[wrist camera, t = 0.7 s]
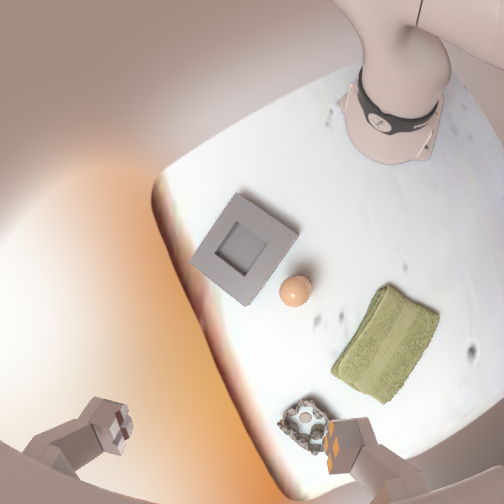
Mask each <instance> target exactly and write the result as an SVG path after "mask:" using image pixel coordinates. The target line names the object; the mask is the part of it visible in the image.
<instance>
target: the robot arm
mask: <svg viewBox="0 0 504 504" xmlns="http://www.w3.org/2000/svg"><path fill="white" fill-rule="evenodd" d="M330 1H331V2H332V3H334V4H335V5H336V6H337V7H338V8H339V9H340V10H341V11H342V12H343V14H344V15H345V16H346V17H347V19H348V20H349V21H350V23H351V24H352V26H353V27H354V29H355V30H356V32H357V34H358V36H359V38H360V40H361V43H362V47H363V66H362V68H361V70H360V73H359V75H358V76H357V78H356V82H355V83H354V84H351V85H350V87H349V91H348V93H347V94H345V95H344V96H343V97H342V98H341V99H340V102H339V105H340V108H341V110H342V112H343V113H344V115H345V118H346V128H347V132H348V135H349V137H350V139H351V141H352V143H353V144H354V146H355V147H356V148H357V149H358V150H359V151H360V152H361V153H362V154H364V155H365V156H366V157H368V158H370V159H372V160H374V161H376V162H379V163H383V164H401V163H404V162H407V161H409V160H427V159H429V158H430V156H431V153H432V149H433V145H434V141H435V137H436V133H437V129H438V125H439V120H440V116H441V111H442V106H443V101H444V98H443V96H442V93H443V91H444V89H445V87H446V86H447V84H448V82H449V80H450V76H451V65H450V60H449V57H448V54H447V51H446V49H445V47H444V45H443V43H442V42H441V41H440V40H439V38H438V37H440V38H442V39H444V40H446V41H447V42H449V43H451V44H453V45H455V46H457V47H459V48H460V49H462V50H464V51H466V52H467V53H469V54H471V55H473V56H474V57H476V58H477V59H479V60H482V61H484V62H486V63H489V64H491V65H493V66H495V67H497V68H499V69H501V70H504V0H330ZM437 36H438V37H437ZM425 146H427V148H428V149H426V148H425ZM128 412H129V409H128V406H127V405H125V404H122V403H118V402H114V401H110V400H106V399H102V398H99V397H93V398H92V399H91V400H90V402H89V403H88V405H87V406H86V408H85V409H84V411H83V412H82V413H81V415H80V416H79V418H78V419H73V420H71V421H68V422H66V423H64V424H62V425H59V426H57V427H55V428H52V429H50V430H47V431H45V432H43V433H40V434H38V435H36V436H34V437H33V438H32V440H31V441H30V442H29V444H28V445H27V447H26V448H25V449H24V451H23V452H22V453H21V452H19V451H17V450H16V449H14V448H11V447H10V446H9V445H7V444H5V443H4V442H2V441H0V504H157V503H153V502H149V501H145V500H141V499H136V498H133V497H129V496H125V495H122V494H119V493H116V492H112V491H109V490H106V489H103V488H100V487H97V486H94V485H92V484H89V483H86V482H84V481H81V480H80V479H79V477H78V476H77V474H76V473H75V471H76V470H78V469H79V468H81V467H82V466H84V465H86V464H87V463H89V462H90V461H92V460H93V459H94V458H96V457H97V456H99V455H100V454H102V453H103V451H104V452H108V453H111V454H115V455H119V456H121V455H122V453H123V451H124V449H125V447H126V443H125V440H127V439H128V438H130V436H131V434H132V429H133V424H132V419H131V417H130V416H129V415H128ZM328 427H329V432H328V433H326V437H325V444H324V446H325V454H326V455H327V456H328V457H329V458H328V461H327V465H328V471H329V474H342V473H350V475H351V476H352V477H353V478H354V479H355V480H356V481H357V482H358V483H359V484H360V485H361V486H362V487H363V488H364V489H365V490H366V491H368V493H369V494H371V495H372V496H373V497H374V499H373V500H372V502H371V503H370V504H504V466H495V467H492V468H490V469H488V470H486V471H484V472H481V473H480V474H477V475H475V476H472V477H470V478H468V479H465V480H462V481H460V482H458V483H455V484H452V485H449V486H447V487H444V488H441V489H438V490H435V491H432V492H430V491H429V489H428V487H427V484H426V482H425V479H424V477H423V474H422V472H421V470H419V469H417V468H416V467H414V466H413V465H411V464H410V463H408V462H407V461H405V460H404V459H402V458H401V457H399V456H398V455H396V454H395V453H393V452H392V451H391V450H389V449H388V448H386V447H385V446H383V445H382V444H380V445H378V443H377V440H376V437H375V434H374V432H373V429H372V426H371V424H370V421H369V419H368V418H367V417H362V418H351V419H340V420H331V421H330V423H329V426H328Z"/></svg>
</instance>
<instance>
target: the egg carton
mask: <svg viewBox="0 0 504 504" xmlns="http://www.w3.org/2000/svg"><path fill="white" fill-rule="evenodd" d="M300 405H301V406H304V407H307V406H312V407H313V415H314V416H315V417H316V419H321V418H323V417H324V418H325V420H326V423H325V427H326V429H327V430H328V431H329V427H328V426H329V423H330V420H329V419H328V414H327V413H326V412H322V411H321V410H319V409H318V408H317V407H316V406H315V405H316V402H315V401H314V400H313V399H311V400H309V401H307V400H304V399H302V400H300V401H299V402H298V406H297V407H296V408H295V409H293V408H291V409H290V410H289V409H288V410H286V411H285V412H284V415H283V419H281V420H280V421H279V422H277V424H278V426H279V427H280V429H281V430H282V431H283V432H284V433H285V434H287V435H289V436H290V437H291V438H292V439H293V440H294V441H295V442H296V443H298V445H299V446H301V447H302V448H304V449H306V450H307V451H310V452H311V453H312V454H313V455H315V456H316V455H317V454H318V453H320V452H324V451H325V446H324V444H325V437H326V436H325V437H324V438H323V441H322V445H321V446H319V445H310V444H309V436H310V437H311V438H312V439H314V440H318V439H321V438H322V437H323V435H324V428H323V426H322V425H320V424H315V425H313V426H312V428H311V433H310V435H309V436H308V435H306V434H299V433H297V428H298V427H297V425H296V424H295V423H292V422H291V423H287V422H286V421H285V418H286V415H287V414H288V415H290V416H293V415H296V414H297V413H298V412H299V407H300ZM299 419H300V421H301V422H303V423H308V422H310V421H311V419H312V417H311V415H310V414H309V413H302V414H301V415H300V416H299Z"/></svg>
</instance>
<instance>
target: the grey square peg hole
mask: <svg viewBox="0 0 504 504" xmlns="http://www.w3.org/2000/svg"><path fill="white" fill-rule="evenodd" d="M297 238H298V234H296V233H295V232H294V231H292V230H291V229H289V228H288V227H286V226H285V225H284V224H282V223H281V222H279V221H278V220H276V219H275V218H273V217H272V216H270V215H269V214H268V213H266V212H265V211H263V210H262V209H260V208H259V207H257V206H256V205H254V204H253V203H251V202H250V201H248V200H247V199H245V198H244V197H242V196H241V195H239V194H238V193H236V194H235V195H234V196H233V198H232V199H231V201H230V202H229V204H228V205H227V207H226V208H225V209H224V211H223V212H222V214H221V215H220V217H219V218H218V220H217V221H216V223H215V224H214V226H213V227H212V228H211V230H210V231H209V233H208V234H207V236H206V237H205V239H204V240H203V242H202V243H201V245H200V246H199V248H198V249H197V251H196V252H195V254H194V255H193V257H192V259H191V260H190V262H189V263H191V264H192V265H193V266H194V267H195V268H197V269H198V270H199V271H200V272H202V273H203V274H204V275H205V276H207V277H208V278H209V279H210V280H212V281H213V282H214V283H215V284H217V285H218V286H219V287H220V288H222V289H223V290H224V291H225V292H227V293H228V294H229V295H231V296H232V297H233V298H234V299H236V300H237V301H238V302H239V303H241V304H242V305H243V306H248V305H250V303H251V302H252V301H253V299H254V298H255V296H256V295H257V294H258V292H259V291H260V290H261V288H262V287H263V285H264V284H265V283H266V281H267V280H268V278H269V277H270V276H271V274H272V273H273V272H274V270H275V269H276V267H277V266H278V264H279V263H280V262H281V260H282V259H283V257H284V256H285V255H286V253H287V252H288V250H289V249H290V248H291V246H292V245H293V243H294V242H295V240H296V239H297Z"/></svg>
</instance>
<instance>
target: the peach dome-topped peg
mask: <svg viewBox="0 0 504 504" xmlns="http://www.w3.org/2000/svg"><path fill="white" fill-rule="evenodd" d="M311 292H312V285H311V283H310V281H309V280H308V279H307V278H306V277H304V276H301V275H297V276H293V277H289V278H287V279H286V280H284V281H283V283H282V284H281V286H280V290H279V294H280V298H281V300H282V301H283V302H284V303H285V304H286V305H288V306H290V307H299V306H301V305H303V304H304V303H306V301H307V300H308V299H309V297H310V295H311Z"/></svg>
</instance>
